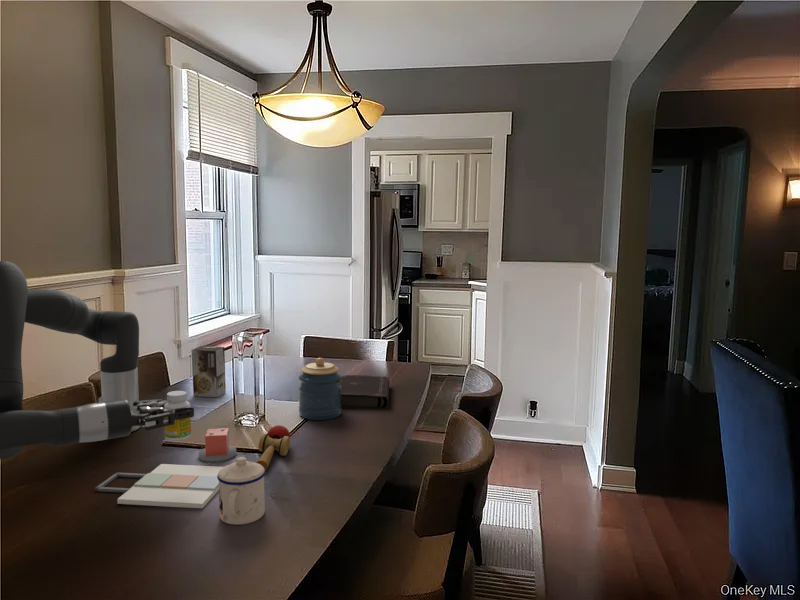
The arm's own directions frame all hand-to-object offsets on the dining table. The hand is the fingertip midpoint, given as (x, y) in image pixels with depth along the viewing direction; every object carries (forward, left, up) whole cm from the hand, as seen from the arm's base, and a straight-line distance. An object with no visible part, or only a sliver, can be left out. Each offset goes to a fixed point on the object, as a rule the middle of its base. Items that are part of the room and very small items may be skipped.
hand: (189, 407), depth 126 cm
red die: (-1, +16, -17) cm, 24 cm away
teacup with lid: (+16, -14, -18) cm, 28 cm away
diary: (+27, +72, -18) cm, 79 cm away
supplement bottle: (-2, -2, -6) cm, 7 cm away
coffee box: (-25, +67, -18) cm, 74 cm away
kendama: (+13, +17, -18) cm, 28 cm away
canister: (+17, +51, -18) cm, 57 cm away
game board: (-6, -2, -17) cm, 18 cm away
